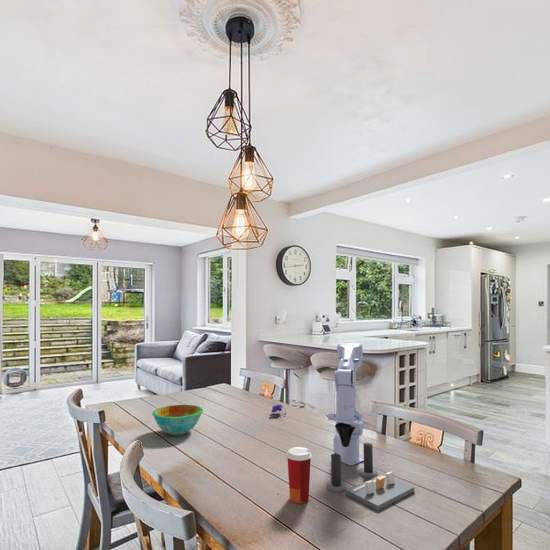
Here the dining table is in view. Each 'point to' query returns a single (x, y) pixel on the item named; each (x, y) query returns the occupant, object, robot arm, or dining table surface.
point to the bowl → (177, 418)
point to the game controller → (277, 408)
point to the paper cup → (299, 474)
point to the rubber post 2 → (368, 462)
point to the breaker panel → (380, 493)
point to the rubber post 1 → (336, 475)
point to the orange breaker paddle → (380, 482)
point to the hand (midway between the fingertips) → (345, 446)
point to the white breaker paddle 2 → (389, 477)
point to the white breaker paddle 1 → (369, 487)
